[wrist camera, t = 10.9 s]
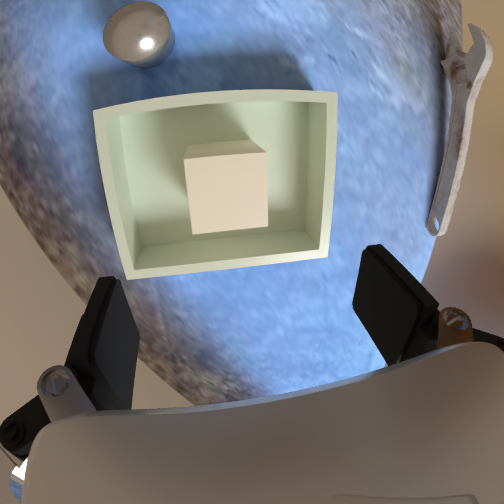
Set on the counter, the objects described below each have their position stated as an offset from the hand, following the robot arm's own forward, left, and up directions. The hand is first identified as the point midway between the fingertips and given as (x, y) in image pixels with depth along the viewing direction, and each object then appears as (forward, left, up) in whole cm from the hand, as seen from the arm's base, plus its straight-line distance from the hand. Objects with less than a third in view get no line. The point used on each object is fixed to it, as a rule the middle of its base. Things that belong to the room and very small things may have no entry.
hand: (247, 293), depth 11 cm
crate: (+1, 0, -20) cm, 20 cm away
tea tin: (-13, -6, -20) cm, 25 cm away
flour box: (0, 0, -19) cm, 19 cm away
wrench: (-5, +29, -21) cm, 36 cm away
